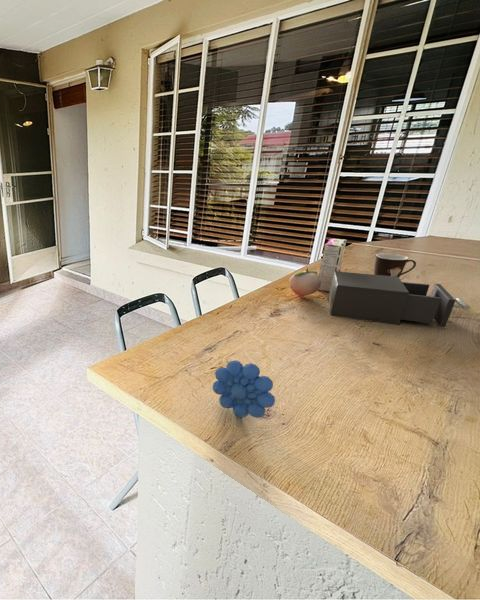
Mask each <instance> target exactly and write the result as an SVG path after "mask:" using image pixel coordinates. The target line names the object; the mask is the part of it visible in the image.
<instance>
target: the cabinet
mask: <svg viewBox="0 0 480 600" xmlns="http://www.w3.org/2000/svg"><path fill="white" fill-rule="evenodd" d="M402 282H403V281H402V280H401V278H400V277H394V276H383V275H374V274H370V273H359V272H350V271H349V272H346V271H340V272H338V271H335V273H334V277H333V281H332V286H331V290H330V292H329V294H328V306H329V307H328V308H329V314H330V316H331V317H339V318H347V319H352V320H353V319H354V320H361V321H366V322H367V321H368V322H373V323H374V322H375V323H381V324H388V325H395V326H400V323H401V317H402V314H403V311H404V307H405V304H406V301H407V298H408V295H409V292H408V290H407V289H406V287H405V286H404V284H403V283H402Z"/></svg>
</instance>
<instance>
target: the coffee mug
mask: <svg viewBox="0 0 480 600" xmlns="http://www.w3.org/2000/svg"><path fill="white" fill-rule="evenodd" d="M409 262H412V263H413V265H412V266H411V267H410V268H409V269H408V270H406V271H404V268H405V267H406V265H407V263H409ZM416 266H417V262H416V261H415V260H413V259H409V257H408V256H406V255H401V254H397V253H377V254H375V259H374V269H373V275H383V276H394V277H399V278H400V277H401V276H403V275H405V274H407V273H409V272H411V271H412V270H414V269H415V268H416Z"/></svg>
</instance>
